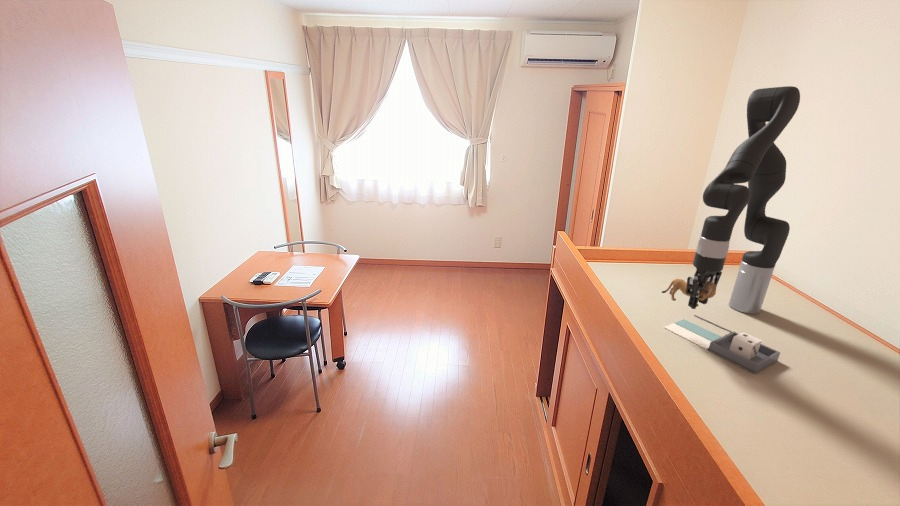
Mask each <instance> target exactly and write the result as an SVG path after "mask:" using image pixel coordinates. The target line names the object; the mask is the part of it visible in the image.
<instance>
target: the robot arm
mask: <svg viewBox="0 0 900 506" xmlns="http://www.w3.org/2000/svg"><path fill="white" fill-rule="evenodd" d="M800 102H801V93H800V89H799V88H798V87H797V86H792V85H791V86H789V85H788V86H776V87H774V86H773V87H765V88H758V89H755V90H753V91H752V92H751V93H750V95H749V97H748V100H747V104H746V119H747V120H746V121H747V122H746V123H747V133H748V138H747V139H745V140H744V141H743V142H741V143H740V144H739V145H738V146H737V147H736V149H734V151H733V153H731V156H730V158H729V160H728V161H727V164H726V165H725V167H724V168H723V170H721V172H720V173H719V174H718V175H717V176H715V178H714V179H712V181H710V182H709V183H708V185H707V186H706V187H705V189H704V191H703V194H702V201H703V203H704V205H705V206H706V207H710V208H714V209H720V210H724V211H725V210H726V211H727V213H726V214H725V215H710V216H707V217H706V218H705V219H704V222H703V225H702V226H703V227H702V230H701V233H700V237H699V239H698V242H697V246H696V249H695V254H694V257H693V261H692V266H693V267H695V272H694V275H693V276H688V277H687V279H686V283H687V288H686V294H688V295H690V296H689V299H688V303H687V305H688V307H689V308H691V307H692V308H697V307H698V306H697V304H698V303H700V304H702V305H707V303H708V302H709V301H708V300H709V298H708V299H705V300H703V301H701V300H699V296H700V294H701V292H702V291H704V289H705V287H706V285H707V283H708V282H713V283H714V284H715V286H717V287H718V283H719V281H720V280H721V279H720V278H721V276H722V273H723V272H722V271H723V270H724V267H725V263H726V259H727V255H728V253H729V250H730V249H729V248H730V241H731V237H732V234H733V230H734V227H735V225H736V222H737V221H738V219H739V218H740V217H739V216H741V214H742V213H743V211H744V210H745V208H746V214H745V221H744V226H743V228H744V229H743V232H744V237H745V238H746V240H748V241H750V242H752V243H756V244H758V245H762V246H763V248H762V249H761V250H751V251H750V250H749V251H746V252H744V253H743V254H742V258H741V261H740V264H739V268H738V271H737V275H736V278H735V281H734V285H733V289H732V292H731V295H730V299H729V303H728V305H729V307H731V308H732V309H733V310H735V311H737V312H741V313H745V314H750V315H757V314H759V313H761V311H762V306H763V305H764V301H765V298H766V295H767V292H768V289H769V285H770V282H771V280H772V276H773V273H774V269H775V267H776V264H777V262H778V260H779V259H780V258H781V254H782V251H783V249H784V247H785V245H786V241H787V240H788V236H789V234H790V229H791V227H790V223H789V222H787V221H786V220H783V219H778V218H775V217H770V216H766V206H767V204H768V202H769V201H770V200H771V199H772V198H773V197H774V196H775V195H776V194H777V193H779V191H780V190H781V188H782V187H783V186H784V184H785V182H786V178H787V177H786V173H787V159H786V158H785V155H784V154H783V153H782V151H781V150H780V148H779V147H778V146H777V145H776V143H775V141H776V140H777V139H778V138H779V136H780V135H781V134H782V132H783V131H784V130H785V128H786V127H787V126H788V125H789V124H790V122H791V121H792V119H793V118H794V116H795V114H796V113H797V111H798V109H799V105H800ZM746 183H747V184H748V185H747V186H746V185H742V184H746ZM698 285H700V286H702V287H699V286H698ZM690 289H691V290H690ZM697 289H698V292H697ZM698 305H699V304H698ZM692 308H691V309H692Z"/></svg>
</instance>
